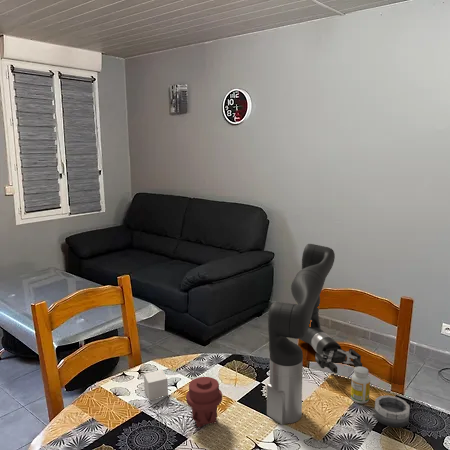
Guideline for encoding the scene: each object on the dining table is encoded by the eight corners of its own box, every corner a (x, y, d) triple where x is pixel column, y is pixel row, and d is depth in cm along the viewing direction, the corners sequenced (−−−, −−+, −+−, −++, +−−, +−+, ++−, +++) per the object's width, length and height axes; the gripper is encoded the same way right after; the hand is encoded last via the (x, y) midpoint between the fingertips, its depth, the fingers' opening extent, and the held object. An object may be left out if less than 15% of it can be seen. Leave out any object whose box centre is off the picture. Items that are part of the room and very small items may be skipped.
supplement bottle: (354, 404, 125) (356, 374, 124) (348, 394, 131) (349, 365, 129) (372, 403, 126) (373, 373, 124) (364, 393, 131) (366, 364, 130)
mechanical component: (193, 436, 112) (182, 415, 121) (228, 426, 116) (214, 406, 125) (192, 394, 110) (181, 376, 119) (227, 385, 114) (213, 368, 123)
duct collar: (397, 432, 113) (398, 418, 112) (368, 416, 120) (368, 403, 119) (414, 419, 118) (415, 406, 118) (385, 404, 125) (386, 391, 125)
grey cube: (149, 401, 129) (148, 383, 128) (144, 391, 134) (143, 373, 133) (168, 396, 131) (167, 378, 130) (162, 386, 137) (162, 369, 136)
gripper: (307, 338, 147) (328, 360, 132) (344, 334, 151) (369, 355, 135) (306, 358, 149) (327, 382, 133) (343, 354, 152) (368, 377, 136)
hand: (348, 369), depth 134 cm, fingers open, 8 cm apart
